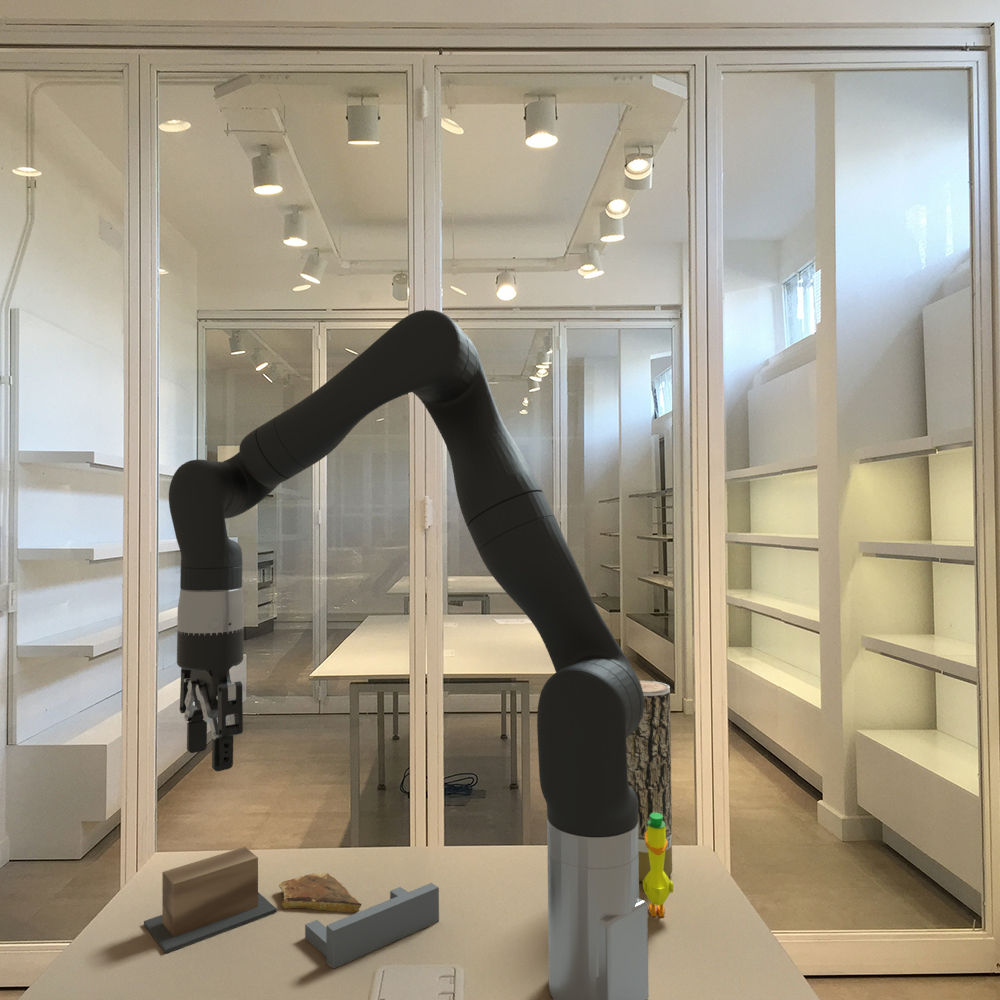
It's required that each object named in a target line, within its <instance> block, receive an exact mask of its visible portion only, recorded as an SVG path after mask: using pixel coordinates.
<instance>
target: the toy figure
mask: <svg viewBox="0 0 1000 1000" xmlns="http://www.w3.org/2000/svg"><path fill="white" fill-rule="evenodd" d="M662 820H663V815H662V814H661V813H656V812H655V813H651V814H650V820H649V821H648V822H647V824H648V826H647V831H646V833H645V843H646V847H647V848H648V853H649V861H650V868H651V870H650V871H649V873H648V874H647V876H646V877H645V879H644V880H643V882H642V891H643V892H644V893H645V895H646V897H647V898H648V900H649V902H650V904H648V913H650V916H651V917H657V915H658V916H659V917H660V918H664V917H665V912H666V908H665V905H664V904H665V902H666V901H667V899H668V898H669V896H670V894H673V893H674V883H673V882H674V881H672V880H671V879H670V878H669V877H668V876H667V875H666V873H665V872H664V871H663V869H664V860H665V850H666V848H667V844H668V842H667V839H666V827H665V822H664V821H662Z"/></svg>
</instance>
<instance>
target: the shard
mask: <svg viewBox="0 0 1000 1000" xmlns="http://www.w3.org/2000/svg"><path fill="white" fill-rule="evenodd" d="M278 888H280V890H281V891H282V892H283V899H282V901H281V907H282V909H297V908H301V909H302V908H304V909H312V910H318V911H319V910H320V911H328V912H329V911H330V912H350V913H351V912H360V908H361V907H362V903H360V902H359V900H357V899H356V898H355V897H353V896H352V895H351V893H350V892H349V891H348V890H347V888H346V887H344V886H343V884H342V883H341V882H339V881H338V879H336V878H335V877H333V876H332V875H331V874H330V873H328V872H326V873H310V874H306V875H303V876H299V877H296V878H292V879H288V880H285V881H282V882H280V883H279V884H278Z"/></svg>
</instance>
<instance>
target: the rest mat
mask: <svg viewBox="0 0 1000 1000" xmlns="http://www.w3.org/2000/svg"><path fill="white" fill-rule="evenodd" d="M277 910H278V909H277V908H276V907H275V906H274V905H273V904H272V903H271V902H270V901H269V900H268V899H266V897H264V896H263V895H262V894H261V893H260V892H259V891H258V907H256V908H253V909H250V910H248V911H245V912H242V913H239V914H237V915H234V916H231V917H228V918H226V919H223V920H220V921H217V922H215V923H212V924H209V925H206V926H204V927H201V928H198V929H195V930H193V931H190V932H187V933H184V934H181V935H179V936H176V937H173V936H172V935H171V933H170V932H169V931H168V930H167V928H166V927H165V926H164V925H163V923H162V914H160V915H157V916H155V917H152V918H149V919H146V920H143V925H144V927H145V929H146V930H147V931H148V932H149V934H150V935H151V936H152V937H153V939H154V940H155V942H156V943H157V944H158V945H159V947H160V948H161V950H162V951H163V952H164V953H165V954H168V953H171V952H173V951H176V950H179V949H182V948H185V947H186V946H187V947H188V946H190V945H192V944H195V943H197V942H201V941H202V940H205V939H208V938H212V937H214V936H216V935H219V934H222V933H224V932H226V931H230V930H233V929H235V928H238V927H240V926H244V925H246V924H249V923H251V922H254V921H257V920H259V919H262V918H265V917H267V916H270V915H273V914H275V913H278V911H277Z"/></svg>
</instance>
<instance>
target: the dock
mask: <svg viewBox="0 0 1000 1000" xmlns="http://www.w3.org/2000/svg"><path fill="white" fill-rule="evenodd" d="M438 922H440V887H439V886H438V885H436V884H434V883H433V882H430V883H428V884H424V885H422V886H420V887H417V888H415V889H413V890H410V891H407V890H406V889H404V888H403V887H401V886H399V887H397V888H394V889H391V890H390V892H389V899H388V900H386V901H383V902H380V903H378V904H376V905H373V906H371V907H368V908H365V909H364V910H361V911H360V910H359V911H357V912H355V913H353V914H351V915H349V916H348V915H347V916H345V917H344V918H341V919H338V920H336V921H333V922H331V923H329V924H326V926H325V925H324V924H323V923H322V922H320V921H319V920H318V919H315V920H313V921H310V922H308V923H306V924H305V925H304V930H305V931H304V939H306V940H307V941H308V942H310V944H312V946H313V947H315V948H316V949H317V950H318V951H319V952H320V953H322V955H324V956H325V957H326V964H327V965H329V967H330V968H332V969H337V968H338V967H340V966H343V965H345V964H348V963H350V962H352V961H354V960H356V959H358V958H361V957H363V956H365V955H367V954H369V953H372V952H374V951H377V950H378V949H380V948H382V947H384V946H388V945H390V944H392V943H394V942H396V941H398V940H400V939H403V938H405V937H408V936H410V935H412V934H414V933H416V932H418V931H421V930H423V929H425V928H427V927H430V926H431V925H434V924H436V923H438Z"/></svg>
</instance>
